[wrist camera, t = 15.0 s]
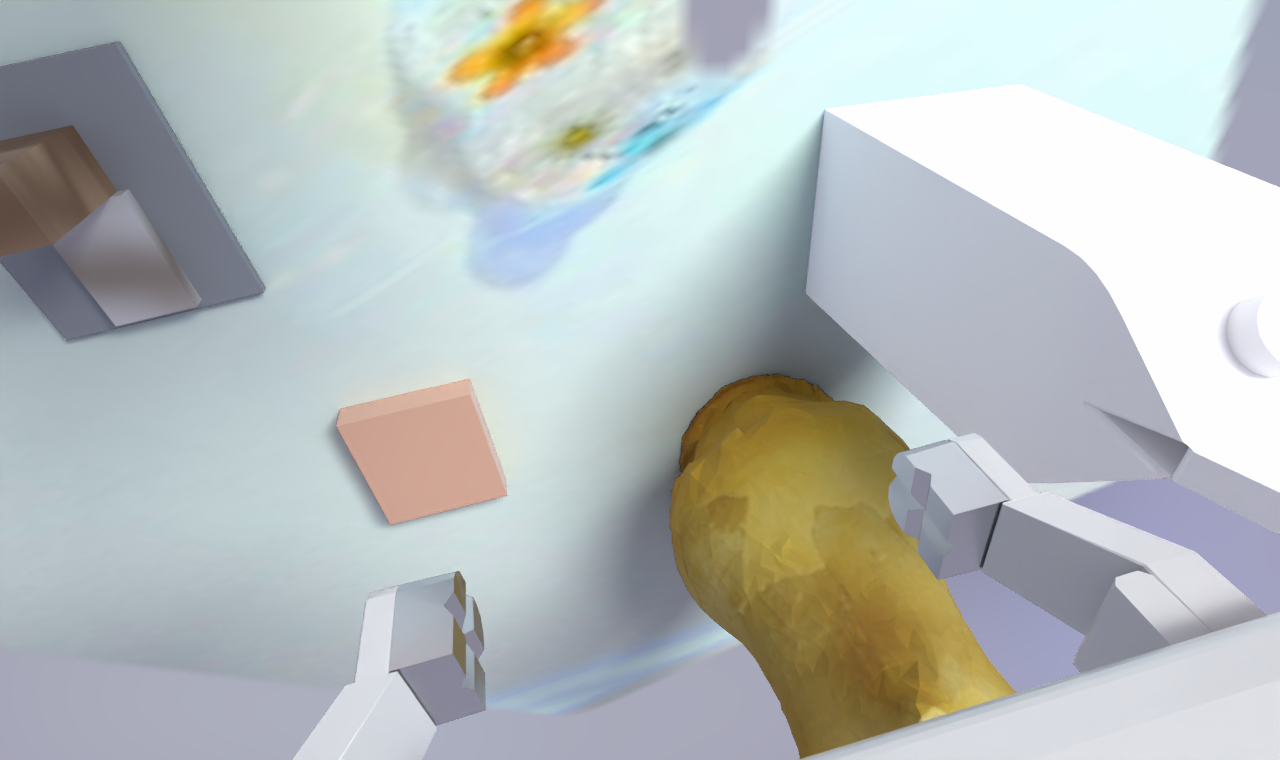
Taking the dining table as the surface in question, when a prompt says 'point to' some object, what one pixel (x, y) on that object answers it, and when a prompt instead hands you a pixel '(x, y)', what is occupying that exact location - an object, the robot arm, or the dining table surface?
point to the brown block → (87, 226)
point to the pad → (118, 180)
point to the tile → (424, 451)
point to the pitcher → (819, 564)
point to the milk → (1060, 288)
